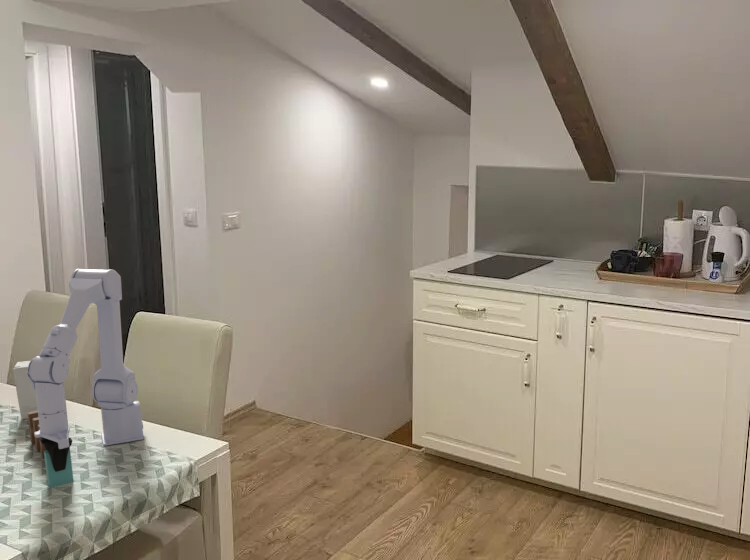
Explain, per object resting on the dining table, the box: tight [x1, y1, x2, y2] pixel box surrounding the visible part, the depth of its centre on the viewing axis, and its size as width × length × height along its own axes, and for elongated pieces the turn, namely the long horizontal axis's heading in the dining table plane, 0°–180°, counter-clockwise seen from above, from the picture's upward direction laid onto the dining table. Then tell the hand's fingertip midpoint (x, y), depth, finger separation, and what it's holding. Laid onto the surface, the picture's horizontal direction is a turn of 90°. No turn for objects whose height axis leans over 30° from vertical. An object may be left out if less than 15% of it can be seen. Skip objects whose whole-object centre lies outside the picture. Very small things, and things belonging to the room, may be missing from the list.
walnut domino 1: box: [27, 410, 38, 446], centre depth 190 cm, size 2×5×8 cm, turn 127°
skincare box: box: [12, 360, 38, 420], centre depth 207 cm, size 8×6×15 cm
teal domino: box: [44, 447, 74, 489], centre depth 168 cm, size 2×5×8 cm, turn 127°
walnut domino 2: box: [32, 417, 41, 453], centre depth 186 cm, size 2×5×8 cm, turn 127°
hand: (58, 468), depth 168 cm, fingers closed on teal domino
